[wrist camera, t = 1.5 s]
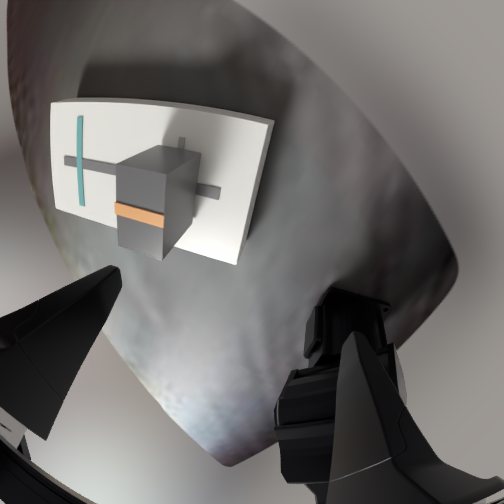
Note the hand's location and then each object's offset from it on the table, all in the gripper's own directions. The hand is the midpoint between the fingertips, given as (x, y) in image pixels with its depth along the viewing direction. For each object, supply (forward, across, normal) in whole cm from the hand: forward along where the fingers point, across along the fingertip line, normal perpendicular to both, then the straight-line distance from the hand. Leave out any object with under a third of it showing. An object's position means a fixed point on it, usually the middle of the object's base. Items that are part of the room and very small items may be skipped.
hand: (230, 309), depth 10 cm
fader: (+9, +6, 0) cm, 11 cm away
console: (+12, +10, 0) cm, 16 cm away
